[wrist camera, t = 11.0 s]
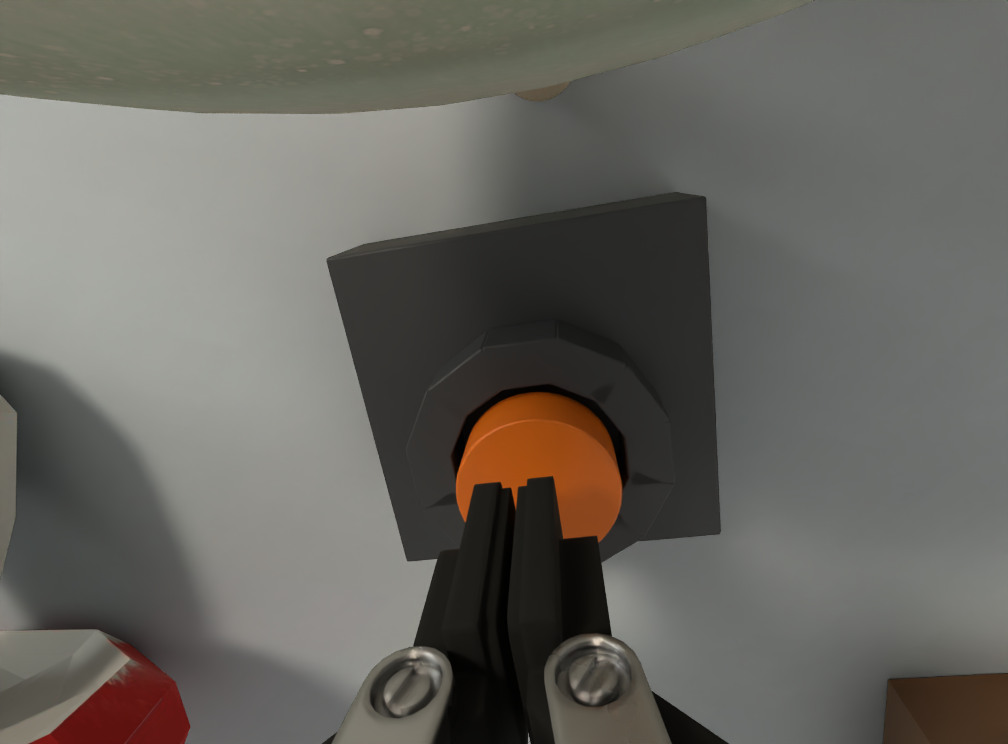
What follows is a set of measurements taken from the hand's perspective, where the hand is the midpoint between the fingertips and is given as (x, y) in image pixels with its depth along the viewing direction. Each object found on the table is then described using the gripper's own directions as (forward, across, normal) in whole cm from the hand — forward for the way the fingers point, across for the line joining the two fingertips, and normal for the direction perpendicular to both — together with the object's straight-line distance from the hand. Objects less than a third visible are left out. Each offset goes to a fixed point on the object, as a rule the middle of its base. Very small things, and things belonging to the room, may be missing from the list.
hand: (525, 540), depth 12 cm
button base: (+8, 0, -1) cm, 8 cm away
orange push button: (+4, 0, 0) cm, 4 cm away
